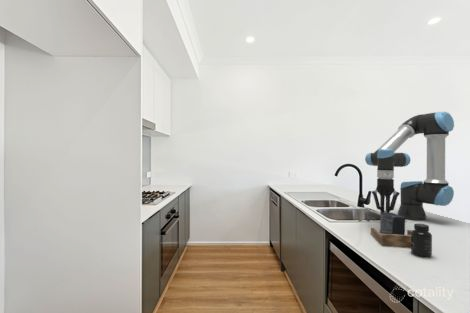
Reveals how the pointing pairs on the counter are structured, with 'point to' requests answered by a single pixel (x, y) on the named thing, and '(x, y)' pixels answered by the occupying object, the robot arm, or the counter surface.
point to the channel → (392, 239)
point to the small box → (392, 223)
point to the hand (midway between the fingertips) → (384, 223)
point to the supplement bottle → (421, 241)
